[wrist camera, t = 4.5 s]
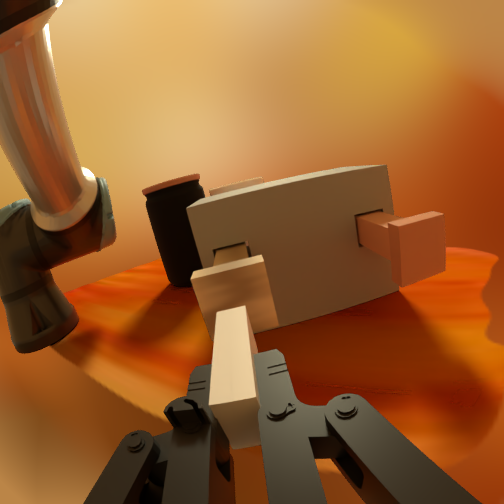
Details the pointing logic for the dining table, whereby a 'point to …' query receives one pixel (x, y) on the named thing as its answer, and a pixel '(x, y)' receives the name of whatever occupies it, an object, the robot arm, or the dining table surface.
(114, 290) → the dining table surface
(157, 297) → the dining table surface
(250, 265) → the pale plunger
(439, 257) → the terracotta plunger
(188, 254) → the coffee jar
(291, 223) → the wall block
